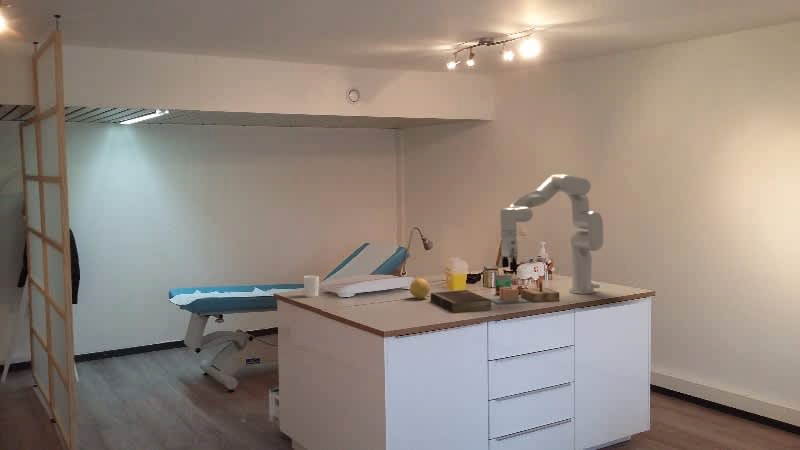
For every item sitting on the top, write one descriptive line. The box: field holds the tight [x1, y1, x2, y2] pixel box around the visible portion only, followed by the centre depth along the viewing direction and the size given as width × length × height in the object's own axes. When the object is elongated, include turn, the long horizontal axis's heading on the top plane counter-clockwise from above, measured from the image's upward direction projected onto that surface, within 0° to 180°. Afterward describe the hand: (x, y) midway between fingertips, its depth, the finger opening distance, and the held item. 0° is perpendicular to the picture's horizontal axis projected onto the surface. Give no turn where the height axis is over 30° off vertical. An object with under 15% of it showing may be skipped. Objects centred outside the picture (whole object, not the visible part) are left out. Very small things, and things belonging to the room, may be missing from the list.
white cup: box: [303, 274, 320, 298], centre depth 368 cm, size 8×8×10 cm
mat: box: [487, 296, 530, 305], centre depth 350 cm, size 16×13×1 cm
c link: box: [498, 286, 520, 302], centre depth 350 cm, size 7×7×6 cm
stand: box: [520, 281, 560, 303], centre depth 355 cm, size 14×14×8 cm
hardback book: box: [430, 289, 492, 313], centre depth 340 cm, size 29×19×5 cm, turn 18°
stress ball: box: [409, 277, 431, 300], centre depth 359 cm, size 10×10×10 cm
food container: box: [494, 272, 513, 295], centre depth 371 cm, size 12×6×10 cm, turn 143°
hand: (509, 268), depth 349 cm, fingers open, 9 cm apart
